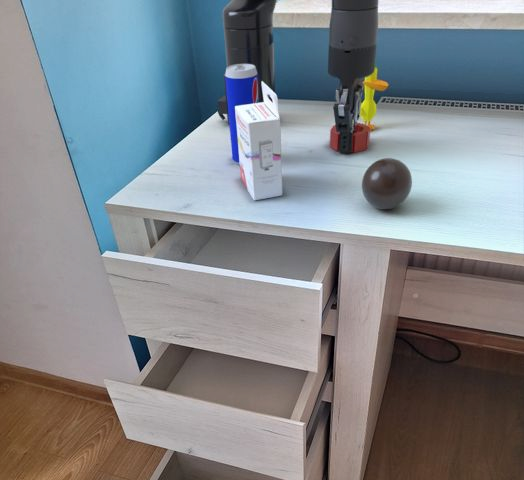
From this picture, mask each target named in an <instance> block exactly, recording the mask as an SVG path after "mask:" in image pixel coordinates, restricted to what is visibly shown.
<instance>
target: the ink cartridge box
mask: <svg viewBox="0 0 524 480" xmlns="http://www.w3.org/2000/svg"><path fill="white" fill-rule="evenodd" d="M261 84H262V92H263V99H264V102H261V103H254V104H247V105H240V106H235V114H236V125H237V136H238V149H239V163H240V165H239V171H240V172H239V173H240V180H241V182H242V183H243V185H244V187H245V189H246V190H247V191H248V193H249V194H250V196H251V198H252V200H253V201H260V200H264V199H270V198H275V197H280V196H283V169H282V168H283V167H282V165H283V163H282V132H281V130H282V129H281V117H280V116H281V115H280V106H279V99H278V95H277V94H276V92H275V93H274V92H273V91H272V90H271V89H270V88H269V87H268V86H267V85H266V84H265V83H264V82H263V81H262V82H261ZM268 95H270V97H271V98H272V101H273V103H272V102H271V101H270V100H269V98H268Z"/></svg>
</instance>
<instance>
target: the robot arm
mask: <svg viewBox="0 0 524 480" xmlns="http://www.w3.org/2000/svg"><path fill="white" fill-rule="evenodd" d="M276 4H277V0H231V1H229V3H227V4H226V5H225V6H224V8H222V27H223V37H224V48H225V61H226V62H225V63H226V68H227V67H228V66H231V65H235V64H252V65H254V66H255V67H256V70H257V75H258V95H259V103H261V102H264V99H263V92H262V84H261V82H262V81H263V82H264V83H265V84H266V85H267V86H268V87H269V88H270V89H271V90H272V91H273V92H274V93H275V94H276V81H275V79H276V77H275V47H274V45H275V44H274V13H275V8H276ZM328 24H329V25H328V53H327V57H328V58H327V73H328V75H329V76H331V77H332V78H337V79H338V80H339V85H338V87H337V88H336V90H335V101H336V103H334V104H333V108H332V109H333V117H334V123H335V124H334V125H336V132H340V136H339V151H338V153H339V154H344V155H350V154H352V153H351V151H352V138H353V133H355V128H354V127H356V125H357V123H358V121H359V119H360V118H361V116H360V114H359V113H360V110H361V103H362V102H363V101H362V100H363V95H364V90H365V86H364V84H363V83H362V79H365V77H368V76H370V75H372V74H373V72H374V68H375V65H376V64H375V60H376V56H377V45H378V43H377V42H378V33H379V0H331V10H330V17H329V23H328ZM225 74H226V71H225V72H224V73H223V84H224V95H223V96H222V97H220V98H219V99H218V100H216V101H217V115H218V116H219V118H220V119H221V120H222V121H224V120H226V119H227V125H229V113H228V102H227V91H226V79H225ZM268 98H269V100H270V101H271V102H272V103H273V101H272V98H271V97H270V95H268ZM225 115H226V117H225Z"/></svg>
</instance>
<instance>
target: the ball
mask: <svg viewBox="0 0 524 480" xmlns="http://www.w3.org/2000/svg"><path fill="white" fill-rule="evenodd" d="M412 187H413V177H412V174H411V171H410V168H409V167H408V166H407V164H406V163H404V162H403V161H401V160H400V159H397V158H393V157H385V158H381V159H378V160H376V161H374V162H373V163H372V164H370V166H369V167H368V168H367V169H366V170H365V172H364V174H363V176H362V180H361V191H362V195H363V197H364V199H365V200H366V202H367V203H368V204H369V205H371V206H372V207H374V208H376V209H379V210H392V209H394V208H395V209H396V208H397V207H399V206H400V205H402V204H403V203H404V202H405V201H406V200H407V199H408V197H409V195H410V193H411V191H412Z"/></svg>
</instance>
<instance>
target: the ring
mask: <svg viewBox="0 0 524 480" xmlns="http://www.w3.org/2000/svg"><path fill="white" fill-rule="evenodd" d="M367 125H368V124H367ZM367 125H365V123H361V122H357V125H356V127H354V128H355V133H353V138H352V151H351V153H350V154H352V153H354V154H355V153H359V152H363V151H366V150H367V149H368V147H369V145H370V138H371V131H370V127H369V126H367ZM329 131H330V133H329V148H330V149H332V150H334V151H336V152H339V136H340V132H336V125H335V124H333V125H332V127H331V128H330V130H329Z"/></svg>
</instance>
